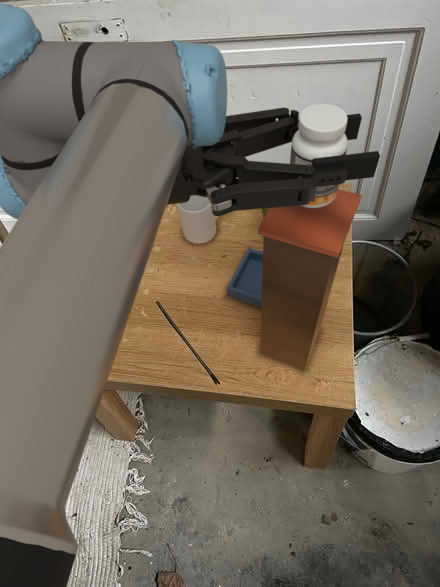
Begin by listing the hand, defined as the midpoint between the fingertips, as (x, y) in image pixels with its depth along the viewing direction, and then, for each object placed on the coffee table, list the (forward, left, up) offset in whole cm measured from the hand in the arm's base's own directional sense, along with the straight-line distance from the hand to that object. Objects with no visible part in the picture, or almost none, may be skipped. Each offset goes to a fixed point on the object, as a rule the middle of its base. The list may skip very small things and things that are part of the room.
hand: (366, 144), depth 44 cm
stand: (-3, +4, -45) cm, 45 cm away
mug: (+18, +32, -45) cm, 58 cm away
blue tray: (+8, +14, -45) cm, 48 cm away
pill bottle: (-3, +4, -6) cm, 8 cm away
